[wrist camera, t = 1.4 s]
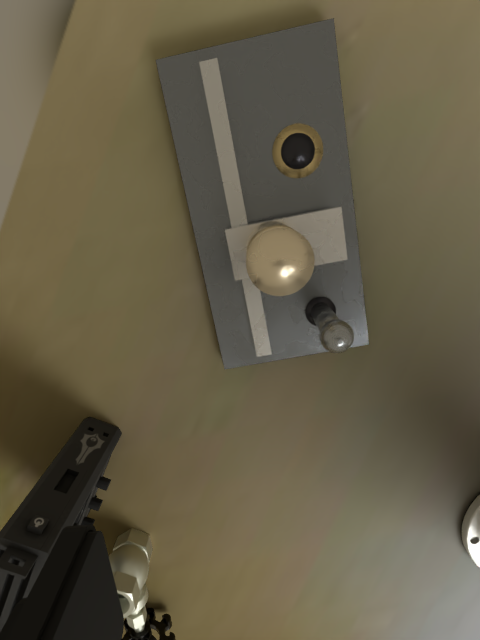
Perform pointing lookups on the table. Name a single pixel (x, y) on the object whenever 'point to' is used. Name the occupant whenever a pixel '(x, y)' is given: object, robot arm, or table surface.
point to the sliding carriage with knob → (286, 249)
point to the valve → (136, 586)
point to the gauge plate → (267, 182)
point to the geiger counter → (54, 509)
